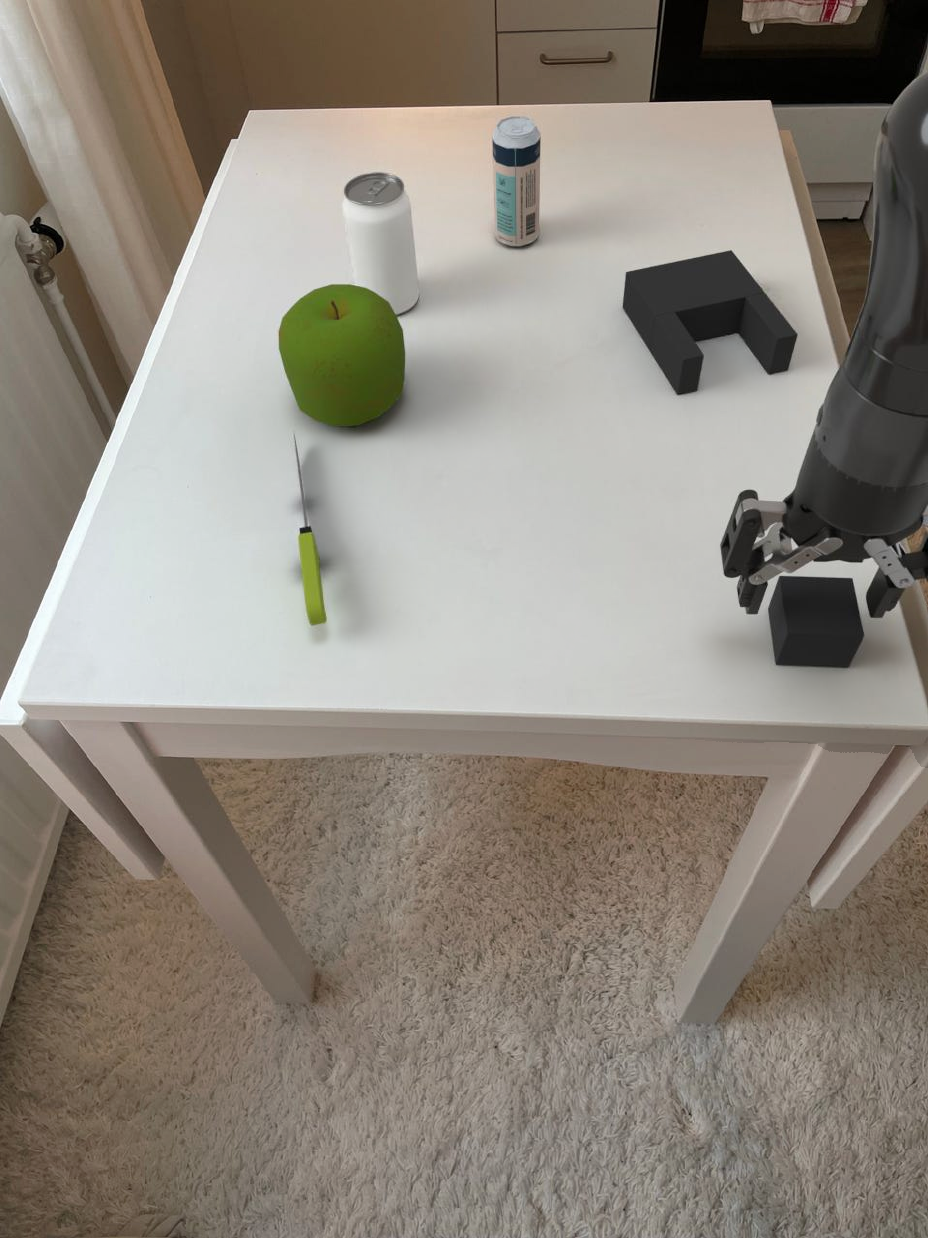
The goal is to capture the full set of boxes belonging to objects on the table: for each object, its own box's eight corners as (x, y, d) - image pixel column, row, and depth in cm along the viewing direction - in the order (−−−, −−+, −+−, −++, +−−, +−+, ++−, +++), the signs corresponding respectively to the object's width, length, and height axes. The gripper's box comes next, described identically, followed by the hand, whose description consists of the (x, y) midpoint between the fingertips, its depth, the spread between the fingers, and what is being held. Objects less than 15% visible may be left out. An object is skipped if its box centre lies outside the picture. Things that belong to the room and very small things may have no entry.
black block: (838, 610, 72) (852, 577, 69) (848, 668, 69) (864, 636, 66) (767, 608, 72) (779, 575, 69) (775, 665, 69) (787, 633, 66)
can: (346, 311, 97) (327, 200, 87) (373, 276, 100) (357, 164, 91) (404, 324, 95) (391, 211, 86) (429, 287, 99) (419, 175, 89)
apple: (406, 439, 85) (393, 338, 77) (287, 442, 86) (261, 342, 77) (412, 360, 92) (401, 258, 83) (302, 363, 92) (279, 262, 84)
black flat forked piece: (788, 370, 88) (798, 334, 85) (677, 395, 87) (683, 359, 84) (724, 285, 97) (731, 249, 93) (622, 306, 95) (625, 271, 92)
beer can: (540, 225, 105) (541, 113, 95) (537, 249, 102) (539, 137, 92) (496, 224, 105) (493, 113, 95) (493, 249, 102) (490, 137, 93)
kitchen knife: (292, 456, 86) (285, 429, 84) (306, 454, 87) (299, 427, 84) (313, 639, 72) (306, 612, 70) (330, 635, 72) (323, 609, 70)
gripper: (765, 481, 53) (713, 647, 66) (1033, 485, 52) (926, 653, 65) (749, 390, 57) (704, 563, 70) (996, 392, 56) (903, 567, 69)
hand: (811, 606), depth 67 cm, fingers open, 8 cm apart
